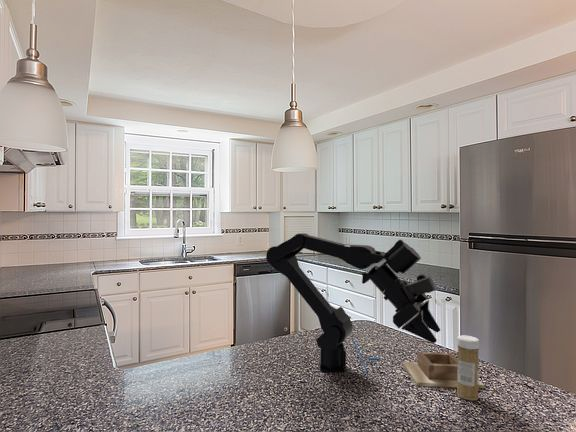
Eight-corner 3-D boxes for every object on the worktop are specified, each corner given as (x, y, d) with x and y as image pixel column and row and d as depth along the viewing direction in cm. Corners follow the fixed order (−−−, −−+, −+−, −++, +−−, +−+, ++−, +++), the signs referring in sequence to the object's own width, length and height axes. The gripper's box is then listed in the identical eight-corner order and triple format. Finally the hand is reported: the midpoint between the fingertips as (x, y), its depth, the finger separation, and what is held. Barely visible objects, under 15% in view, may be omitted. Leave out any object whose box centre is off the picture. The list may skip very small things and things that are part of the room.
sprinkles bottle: (482, 398, 83) (483, 339, 83) (471, 403, 80) (472, 342, 80) (463, 390, 87) (464, 333, 87) (452, 394, 84) (453, 336, 84)
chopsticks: (370, 339, 119) (354, 339, 119) (387, 371, 94) (366, 371, 94) (370, 344, 119) (354, 344, 119) (387, 377, 94) (366, 377, 94)
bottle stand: (417, 385, 88) (417, 368, 88) (402, 364, 101) (402, 349, 101) (484, 388, 88) (484, 370, 88) (460, 366, 101) (461, 351, 101)
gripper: (408, 268, 81) (462, 325, 76) (419, 261, 97) (465, 307, 92) (372, 300, 84) (422, 356, 79) (389, 287, 101) (431, 333, 96)
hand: (437, 336), depth 87 cm, fingers open, 9 cm apart
